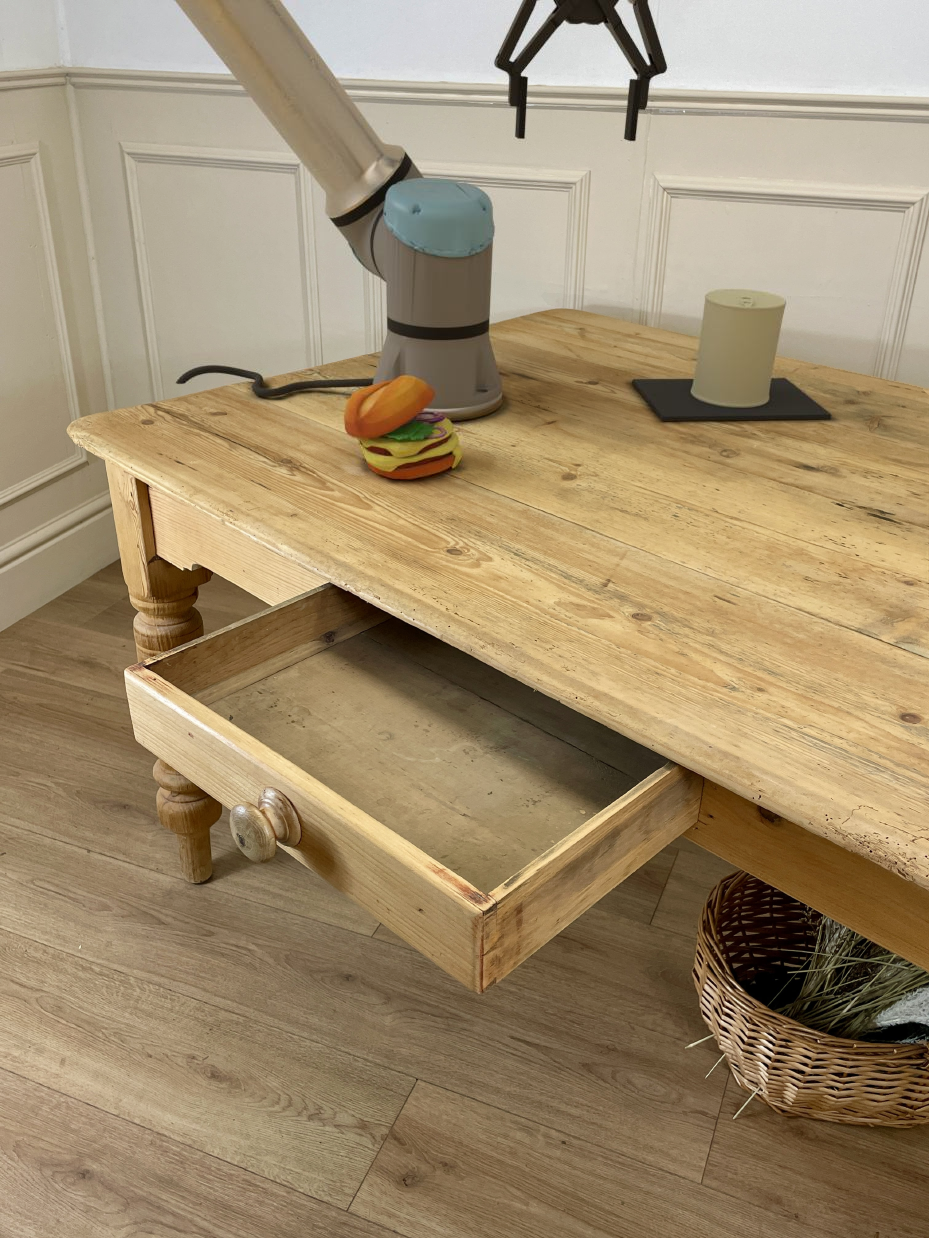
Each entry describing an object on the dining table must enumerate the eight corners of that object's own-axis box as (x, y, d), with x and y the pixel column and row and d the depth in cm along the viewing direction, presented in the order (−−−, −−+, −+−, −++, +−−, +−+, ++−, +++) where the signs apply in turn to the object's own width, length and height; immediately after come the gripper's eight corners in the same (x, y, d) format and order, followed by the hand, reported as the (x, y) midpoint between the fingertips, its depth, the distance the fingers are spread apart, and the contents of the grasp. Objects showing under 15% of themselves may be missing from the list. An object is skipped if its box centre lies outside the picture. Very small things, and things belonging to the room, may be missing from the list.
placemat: (662, 421, 113) (663, 416, 113) (631, 383, 125) (632, 379, 124) (830, 419, 115) (831, 414, 115) (784, 382, 127) (785, 377, 127)
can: (691, 405, 116) (706, 300, 110) (689, 381, 124) (703, 282, 118) (772, 411, 115) (792, 305, 109) (765, 387, 123) (783, 287, 117)
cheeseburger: (464, 485, 95) (440, 386, 90) (357, 506, 96) (327, 410, 91) (465, 446, 104) (444, 353, 99) (367, 466, 105) (340, 375, 100)
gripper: (690, -66, 114) (666, 138, 125) (475, -75, 112) (469, 134, 123) (710, -71, 108) (683, 144, 119) (483, -81, 105) (476, 139, 116)
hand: (575, 139), depth 121 cm, fingers open, 13 cm apart
